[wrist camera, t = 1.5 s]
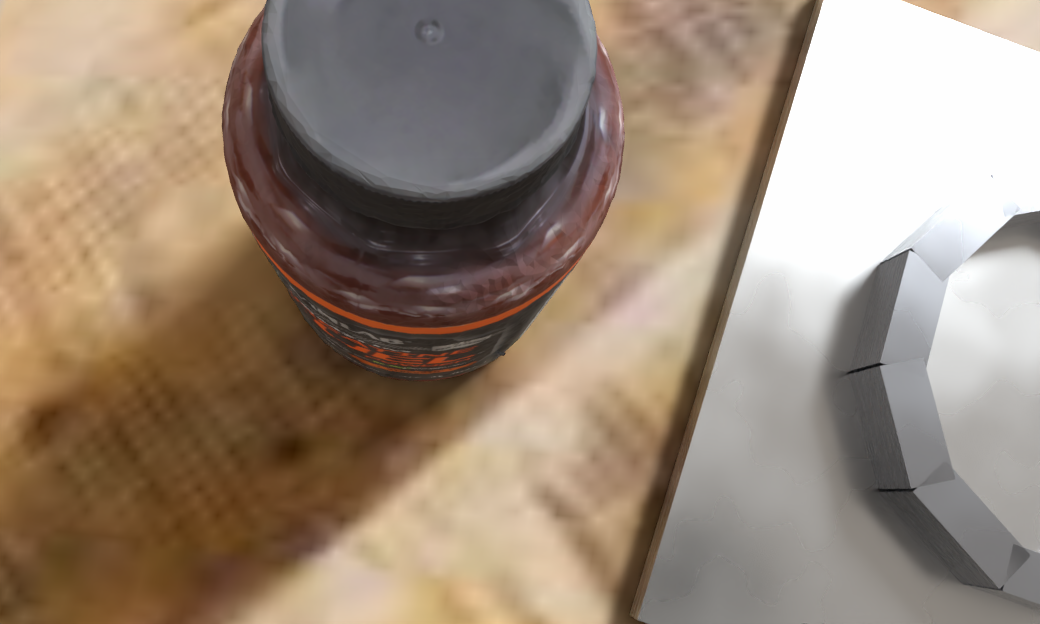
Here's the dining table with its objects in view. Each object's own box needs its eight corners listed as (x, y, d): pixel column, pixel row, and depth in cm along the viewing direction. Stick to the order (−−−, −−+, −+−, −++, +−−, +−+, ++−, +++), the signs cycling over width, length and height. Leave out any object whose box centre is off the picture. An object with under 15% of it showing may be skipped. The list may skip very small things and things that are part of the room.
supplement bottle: (264, 361, 22) (99, 223, 10) (320, 112, 23) (224, -248, 12) (527, 409, 22) (637, 327, 11) (569, 162, 23) (707, -139, 12)
